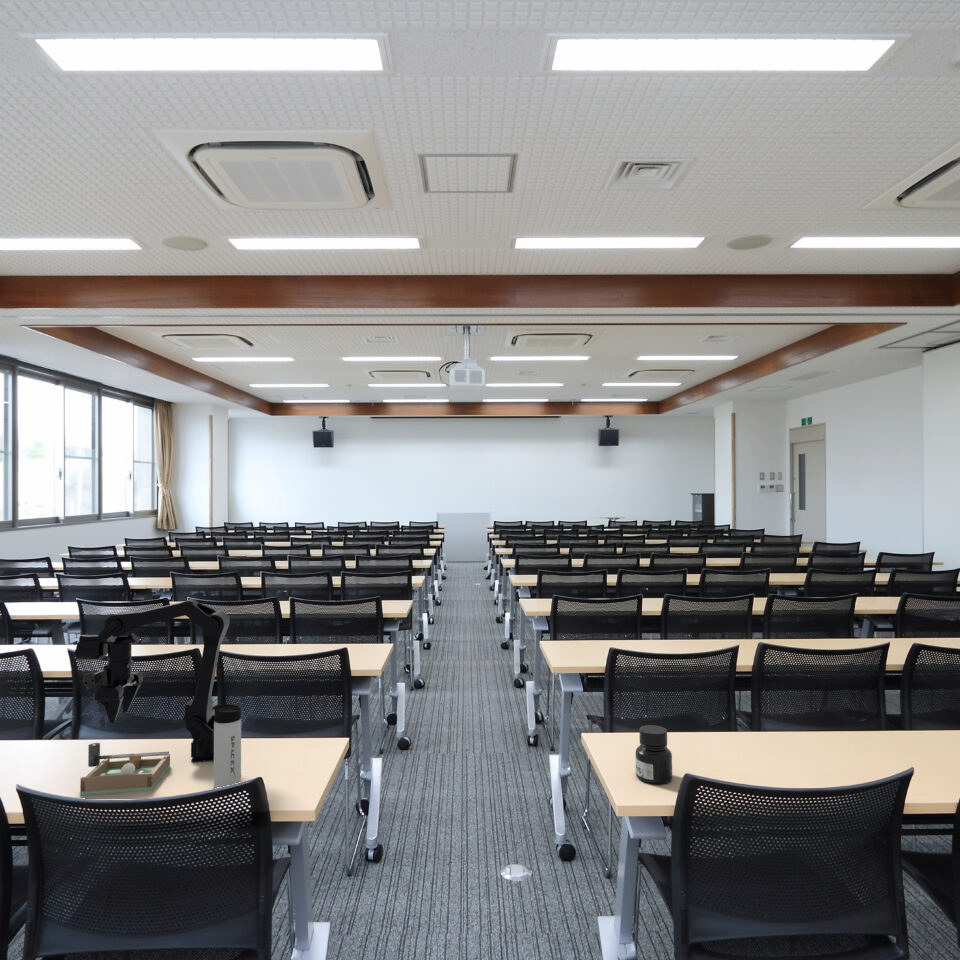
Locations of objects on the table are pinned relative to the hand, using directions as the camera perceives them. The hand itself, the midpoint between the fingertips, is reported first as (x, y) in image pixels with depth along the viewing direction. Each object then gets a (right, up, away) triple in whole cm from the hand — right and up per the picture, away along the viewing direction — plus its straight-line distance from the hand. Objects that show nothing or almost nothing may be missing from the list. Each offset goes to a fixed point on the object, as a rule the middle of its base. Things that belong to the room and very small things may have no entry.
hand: (119, 717), depth 181 cm
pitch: (+9, -12, -12) cm, 19 cm away
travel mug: (+36, -11, -18) cm, 42 cm away
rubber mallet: (+6, -11, -7) cm, 14 cm away
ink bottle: (+141, -11, -14) cm, 143 cm away
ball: (+9, -9, -12) cm, 17 cm away
